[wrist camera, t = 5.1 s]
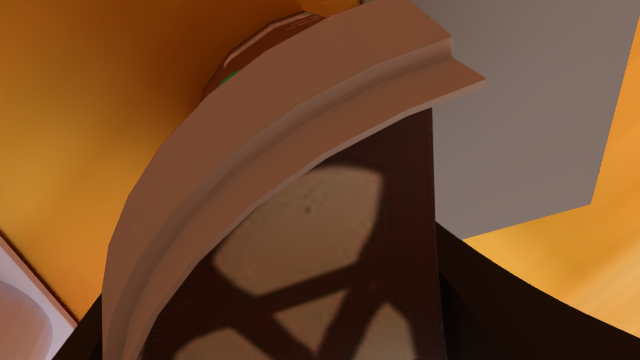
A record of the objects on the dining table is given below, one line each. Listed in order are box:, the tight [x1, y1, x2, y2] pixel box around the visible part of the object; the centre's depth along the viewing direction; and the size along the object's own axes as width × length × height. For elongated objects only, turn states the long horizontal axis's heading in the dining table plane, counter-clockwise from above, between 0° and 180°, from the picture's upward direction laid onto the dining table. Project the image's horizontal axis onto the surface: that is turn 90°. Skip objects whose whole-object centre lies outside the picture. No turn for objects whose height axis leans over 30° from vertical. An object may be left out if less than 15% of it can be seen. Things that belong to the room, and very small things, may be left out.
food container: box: [102, 0, 487, 360], centre depth 11 cm, size 12×6×10 cm, turn 10°
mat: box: [361, 0, 640, 240], centre depth 15 cm, size 10×14×1 cm
